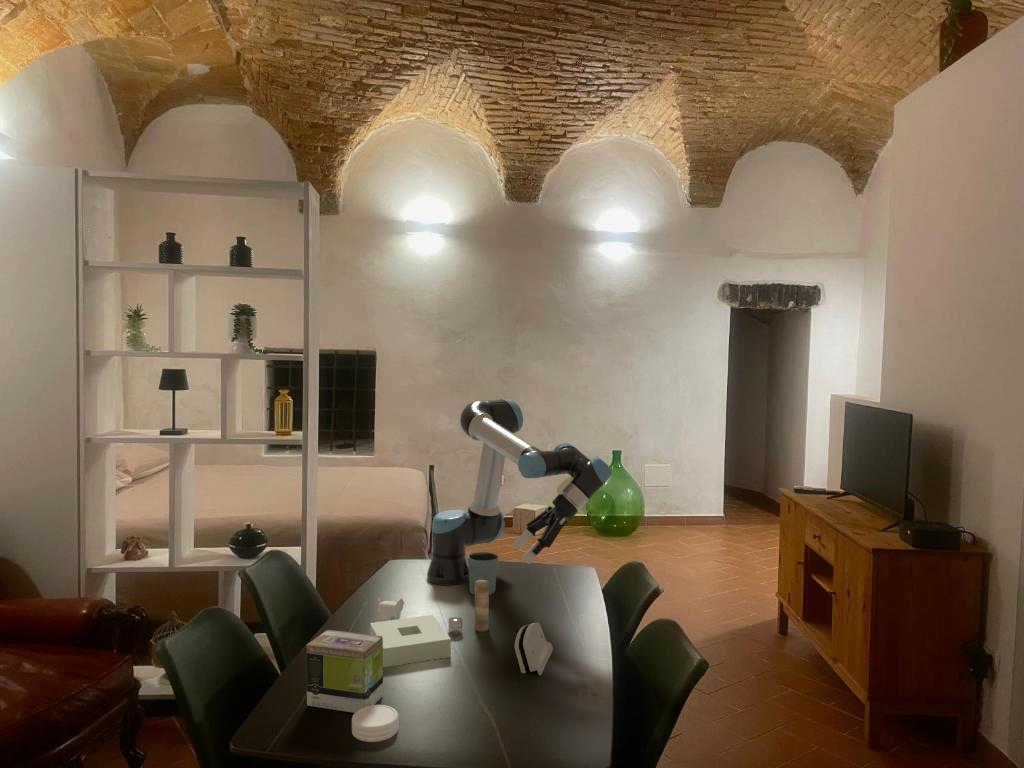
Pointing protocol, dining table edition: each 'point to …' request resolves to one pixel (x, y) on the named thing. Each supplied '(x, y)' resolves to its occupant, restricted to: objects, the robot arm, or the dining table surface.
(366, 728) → the coaster
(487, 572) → the grey blue cup
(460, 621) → the steel stub
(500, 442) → the robot arm
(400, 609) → the elephant figurine
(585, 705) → the dining table surface
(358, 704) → the tea box
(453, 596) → the dining table surface
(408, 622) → the sage block
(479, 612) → the maple pin
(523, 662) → the magnetic window cleaner
